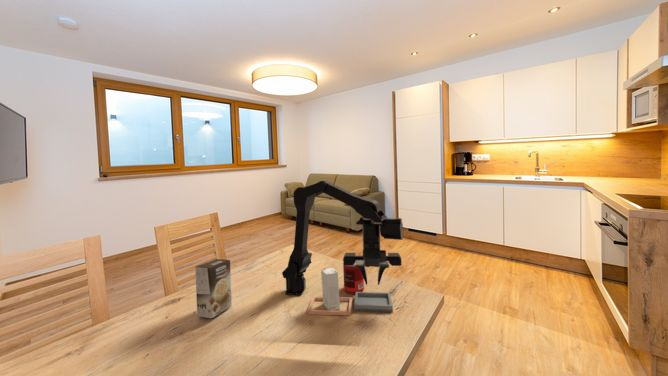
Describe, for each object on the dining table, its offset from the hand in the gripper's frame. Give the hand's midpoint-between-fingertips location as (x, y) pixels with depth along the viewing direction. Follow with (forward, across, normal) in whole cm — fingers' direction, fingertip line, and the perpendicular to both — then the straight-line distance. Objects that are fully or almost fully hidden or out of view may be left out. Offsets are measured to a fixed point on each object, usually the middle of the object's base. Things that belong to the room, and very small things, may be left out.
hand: (372, 284), depth 91 cm
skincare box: (+7, -14, -2) cm, 16 cm away
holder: (+7, -14, -2) cm, 16 cm away
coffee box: (+7, -52, -7) cm, 53 cm away
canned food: (+7, -7, +12) cm, 15 cm away
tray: (+7, 0, 0) cm, 7 cm away
